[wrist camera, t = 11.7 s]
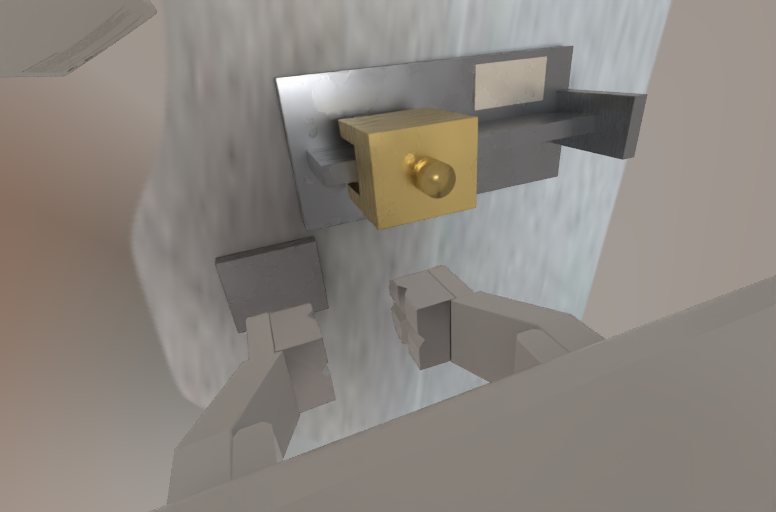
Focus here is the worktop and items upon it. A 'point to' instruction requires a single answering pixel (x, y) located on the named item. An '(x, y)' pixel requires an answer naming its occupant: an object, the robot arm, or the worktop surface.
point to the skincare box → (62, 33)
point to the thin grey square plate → (272, 279)
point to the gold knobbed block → (412, 164)
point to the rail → (460, 95)
